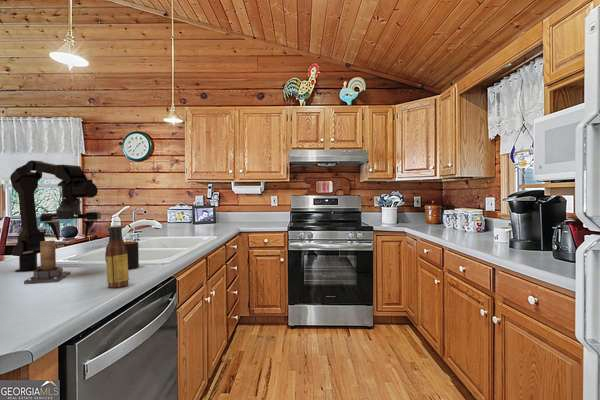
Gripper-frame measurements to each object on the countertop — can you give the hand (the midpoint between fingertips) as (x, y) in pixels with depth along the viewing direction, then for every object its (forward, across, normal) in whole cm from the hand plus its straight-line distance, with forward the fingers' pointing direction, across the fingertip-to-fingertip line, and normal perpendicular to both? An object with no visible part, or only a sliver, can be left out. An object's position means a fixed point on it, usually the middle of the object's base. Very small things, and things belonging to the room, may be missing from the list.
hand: (72, 239), depth 131 cm
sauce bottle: (+14, +20, -24) cm, 34 cm away
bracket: (+13, -6, -6) cm, 16 cm away
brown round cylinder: (+12, -6, -6) cm, 15 cm away
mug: (+14, +16, +5) cm, 22 cm away
